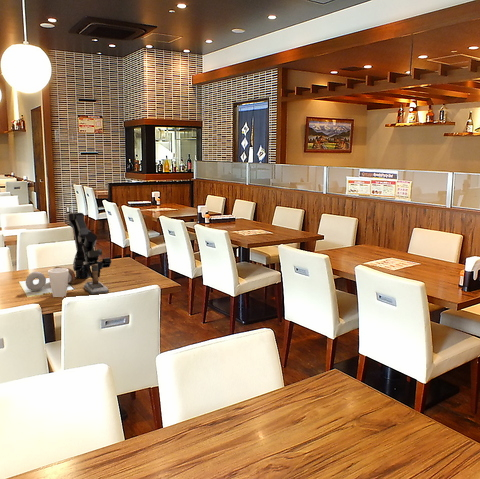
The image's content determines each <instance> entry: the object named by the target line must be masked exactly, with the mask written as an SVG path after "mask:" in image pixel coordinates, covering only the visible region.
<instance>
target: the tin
mask: <svg viewBox="0 0 480 479" xmlns="http://www.w3.org/2000/svg"><path fill="white" fill-rule="evenodd" d="M56 268H63V267H60V266H56V267H54V268H52V269H56ZM65 268H66V269H68V271H69V275H68V283H67V285H69V284H72V283H74V282H75V280H76V278H75V277H76V272H75V271H74V269H73V270H72V269H71V268H69V267H65Z"/></svg>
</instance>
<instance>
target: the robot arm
mask: <svg viewBox="0 0 480 479" xmlns="http://www.w3.org/2000/svg"><path fill="white" fill-rule="evenodd" d="M66 220H67V222H68V225H69V226H70V228H72V231H73V238H74V243H75V249H76V253H75V255H74V259H73V262H72V264H73V267H72V268H73V272H75V279H83V280H84V279H88V278H91V279H93V275H92V268H91V267H92V265H93V264H98V279H99V278H100V277H101V270H103V268H104V269H105V268H110V267H111V264H112V259H111V257H103V258H102V260H99V257H100V256H102V255H103V251H102V248H98V249H97V250H95V247H96V243H97V240H98V236H97V234H95V233H93V232H92V231H91V230H89V228H88V227H87V224H86V221H85V217H84V213H83V212H70V213H69V212H68V214H67V216H66Z"/></svg>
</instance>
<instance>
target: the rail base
mask: <svg viewBox="0 0 480 479" xmlns="http://www.w3.org/2000/svg"><path fill="white" fill-rule="evenodd" d="M99 282H100V283H101V284H102V287H99V288H91V287H90V286H89V283H92V281H86V283H84V285H83V288H84V289H85V291H87V293H88V294H90V295H97V294H98V295H99V294H107V293H109V292H110V290H109V288H108V287H107V286H106V285H104V284H103V283H102V282H101V281H99Z"/></svg>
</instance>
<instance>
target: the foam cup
mask: <svg viewBox="0 0 480 479" xmlns="http://www.w3.org/2000/svg"><path fill="white" fill-rule="evenodd" d="M66 268H67V267H62V268H56V269H53V268H51V269H48V270H47V274H48V275H47V276H48V279H49V284H50V288H51V289H50V290H51V294H52V298H54V297H62V298H65V297H67V294H68V293H67V292H68V284H67V283H68V275H69V271H68V269H66ZM64 296H65V297H64Z"/></svg>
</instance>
